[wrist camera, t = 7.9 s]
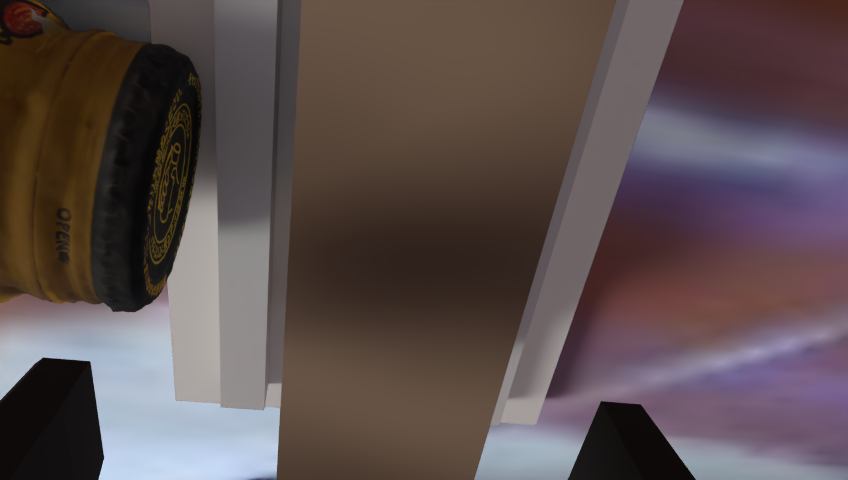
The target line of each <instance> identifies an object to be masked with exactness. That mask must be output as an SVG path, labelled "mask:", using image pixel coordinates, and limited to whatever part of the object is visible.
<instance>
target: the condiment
mask: <svg viewBox="0 0 848 480" xmlns="http://www.w3.org/2000/svg"><path fill="white" fill-rule="evenodd" d="M201 100H202V97H201V84H200V81H199V76H198V74H197V72H196V71H195V67H194V65H193V63H192V61H191V60H190V58H189V57H188V56H186V55H184V54H181V53H180V52H178V51H176V50H175V49H174V48H172V47H170V46H168V45H164V44H152V43H149V42H138V41H130V40H125V39H123V38H120V37H118V36H117V35H116V34H115V33H112V32H109V31H105V30H100V29H92V30H89V31H84V32H79V33H78V32H75V31H74V30H73V29H72V28H71V27H69V26H68V25H67V24H66V23H65V22H64V21H63V20H62V19H61V18H60V17H59V16H58V15H57V14H55V13H54V12H53V11H52V10H51V9H49V8H48V7H47V6H45V5H44V4H42V3H40V2H38V1H36V0H0V303H3V302H6V301H8V300H10V299H11V298H13V297H17V296H19V295H21V294H23V293H28V294H30V295H32V296H35V297H37V298H39V299H42V300H47V301H50V302H55V303H61V304H62V303H65V302H71V303H75V302H77V301H85V302H87V303H91V304H100V303H103V302H104V303H105V304H106V305H107V306H109V307H110V308H111V309H112V311H113V312H120V311H125V312H136V311H138V310H140V309H142V308H143V307H144V306H145V305H148V304H150V303H152V302H153V300H154V299H156V298H157V297H158V296H159V294H160V293H161V291H162V289H163V287H164V285H165V284H166V281H167V279H168V277H169V275H170V274H171V272H172V269H173V264H174V261H175V258H176V256H177V251H178V248H179V246H180V241H181V238H182V236H183V231H184V228H185V222H186V218H187V213H188V210H189V205H190V199H191V196H192V189H193V185H194V178H195V172H196V167H197V159H198V151H199V146H200V145H199V141H200V132H201V118H202V114H201V110H202V103H201Z"/></svg>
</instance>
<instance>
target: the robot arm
mask: <svg viewBox="0 0 848 480" xmlns="http://www.w3.org/2000/svg"><path fill="white" fill-rule="evenodd" d="M103 460H104V454H103V447H102V440H101V433H100V426H99V419H98V412H97V405H96V398H95V391H94V384H93V377H92V370H91V363H90V361H78V360H66V359H53V358H42V359H41V360H39V361H38V362H37V363H35V364H34V365H33V367H32V368H31V369H30V370H29V371H28V372H27V373H26V374H25V375H24V376H23V377H22V378H21V379H20V380H19V381H18V382H17V383H16V385H15V386H14V387H13V388H12V389H11V390H10V391H9V392H8V393H7V394H6V395H5V396H4V397H3V398H2V399H1V400H0V480H98V479H99V475H100V471H101V468H102V464H103ZM568 480H696V479H695V478H694V477H693V475H692V474H691V472H690V471H689V470H688V468H687V467H686V466H685V464H684V463H683V462H682V460H681V459H680V457H679V456H678V455H677V453H676V452H675V451H674V449H673V448H672V446H671V445H670V444H669V442H668V441H667V440H666V438H665V437H664V435H663V434H662V433H661V431H660V430H659V429H658V427H657V426H656V425H655V423H654V422H653V421H652V419H651V418H650V416H649V415H648V414H647V412H646V411H645V410H644V408H643V407H642V406H641V405H640V404H627V403H615V402H602V401H601V403H600V405H599V407H598V410H597V412H596V414H595V417H594V419H593V422H592V424H591V426H590V429H589V431H588V433H587V436H586V438H585V440H584V443H583V445H582V448H581V450H580V452H579V455H578V457H577V459H576V462H575V464H574V466H573V469H572V471H571V474H570V476H569V478H568Z"/></svg>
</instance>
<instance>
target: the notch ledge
mask: <svg viewBox="0 0 848 480" xmlns="http://www.w3.org/2000/svg"><path fill="white" fill-rule="evenodd" d="M683 1H684V0H616V4H615V7H614V10H613V14H612V17H611V20H610V24H609V27H608V31H607V34H606V37H605V41H604V44H603V47H602V51H601V54H600V57H599V61H598V64H597V68H596V71H595V74H594V78H593V81H592V84H591V88H590V91H589V94H588V98H587V101H586V105H585V108H584V111H583V115H582V118H581V121H580V125H579V128H578V131H577V135H576V138H575V142H574V145H573V148H572V152H571V155H570V158H569V162H568V165H567V168H566V172H565V175H564V179H563V182H562V185H561V189H560V192H559V195H558V199H557V202H556V205H555V209H554V212H553V216H552V219H551V222H550V226H549V229H548V232H547V236H546V239H545V242H544V246H543V249H542V253H541V256H540V259H539V263H538V266H537V269H536V273H535V276H534V279H533V283H532V286H531V290H530V293H529V296H528V300H527V303H526V306H525V310H524V313H523V316H522V320H521V323H520V327H519V330H518V333H517V337H516V340H515V343H514V347H513V350H512V353H511V357H510V360H509V364H508V367H507V370H506V374H505V377H504V380H503V384H502V387H501V390H500V394H499V397H498V401H497V404H496V407H495V411H494V414H493V417H492V421H491V424H490V425H492V426H499V425H500V423H515V424H529V425H536V423H537V420H538V417H539V414H540V411H541V408H542V405H543V402H544V400H545V397H546V394H547V391H548V388H549V385H550V382H551V380H552V377H553V374H554V371H555V368H556V365H557V362H558V359H559V357H560V354H561V351H562V348H563V345H564V342H565V339H566V337H567V334H568V331H569V328H570V325H571V322H572V319H573V316H574V314H575V311H576V308H577V305H578V302H579V299H580V296H581V294H582V291H583V288H584V285H585V282H586V279H587V276H588V274H589V271H590V268H591V265H592V262H593V259H594V256H595V253H596V251H597V248H598V245H599V242H600V239H601V236H602V233H603V231H604V228H605V225H606V222H607V219H608V216H609V213H610V210H611V208H612V205H613V202H614V199H615V196H616V193H617V190H618V188H619V185H620V182H621V179H622V176H623V173H624V170H625V167H626V165H627V162H628V159H629V156H630V153H631V150H632V147H633V145H634V142H635V139H636V136H637V133H638V130H639V127H640V124H641V122H642V119H643V116H644V113H645V110H646V107H647V104H648V102H649V99H650V96H651V93H652V90H653V87H654V84H655V81H656V79H657V76H658V73H659V70H660V67H661V64H662V61H663V59H664V56H665V53H666V50H667V47H668V44H669V41H670V38H671V36H672V33H673V30H674V27H675V24H676V21H677V18H678V16H679V13H680V10H681V7H682V4H683ZM301 8H302V0H149V15H150V29H151V43H152V44H164V45H168V46H170V47H172V48H174V49H175V50H176V51H178V52H180V53H181V54H184V55H186V56H188V57H189V58H190V60H191V61H192V63H193V65H194V67H195V71H196V72H197V74H198V76H199V81H200V84H201V97H202V100H201V103H202V110H201V114H202V118H201V132H200V141H199V145H200V146H199V151H198V159H197V167H196V172H195V178H194V185H193V189H192V196H191V199H190V205H189V210H188V213H187V218H186V222H185V228H184V231H183V236H182V238H181V241H180V246H179V248H178V251H177V256H176V258H175V261H174V264H173V269H172V272H171V274H170V275H169V277H168V279H167V282H168V296H169V311H170V326H171V341H172V356H173V371H174V386H175V400H176V401H189V402H204V403H219V404H221V407H224V408H239V409H253V410H264V407H278V408H280V407H281V388H282V369H283V350H284V331H285V312H286V293H287V274H288V255H289V236H290V217H291V198H292V179H293V160H294V141H295V122H296V103H297V84H298V65H299V46H300V27H301Z"/></svg>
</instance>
